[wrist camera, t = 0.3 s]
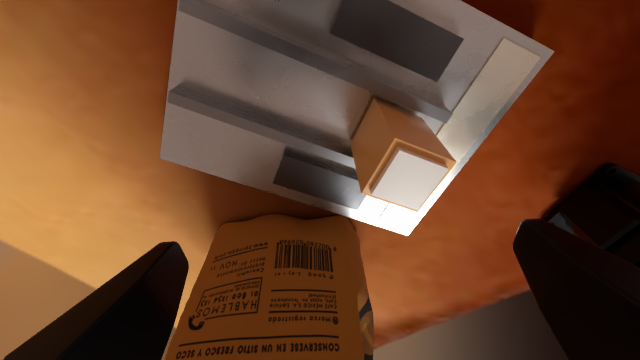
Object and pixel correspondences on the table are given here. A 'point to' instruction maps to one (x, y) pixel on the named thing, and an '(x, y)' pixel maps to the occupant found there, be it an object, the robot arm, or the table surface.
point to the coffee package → (279, 294)
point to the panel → (333, 90)
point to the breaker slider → (398, 157)
